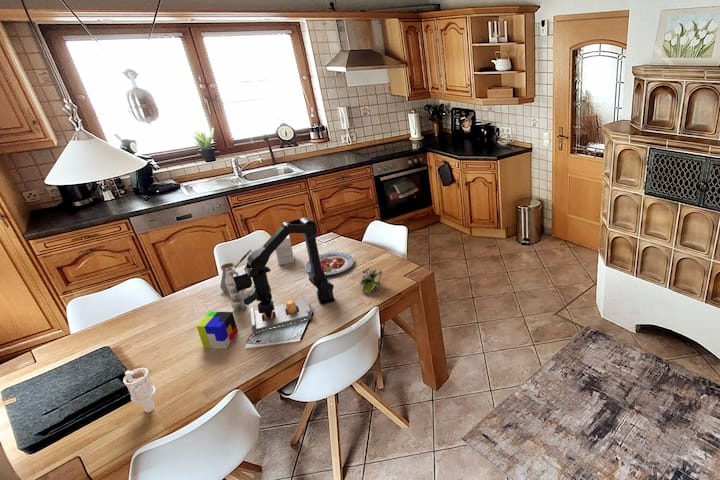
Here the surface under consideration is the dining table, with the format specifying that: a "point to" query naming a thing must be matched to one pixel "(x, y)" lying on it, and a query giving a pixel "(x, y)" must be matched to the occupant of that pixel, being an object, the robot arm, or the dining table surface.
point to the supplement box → (285, 252)
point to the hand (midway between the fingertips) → (268, 315)
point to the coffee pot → (226, 266)
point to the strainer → (140, 389)
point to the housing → (280, 316)
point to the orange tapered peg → (291, 307)
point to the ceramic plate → (333, 262)
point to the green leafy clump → (370, 280)
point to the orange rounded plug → (268, 318)
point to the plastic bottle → (234, 291)
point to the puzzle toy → (217, 329)
